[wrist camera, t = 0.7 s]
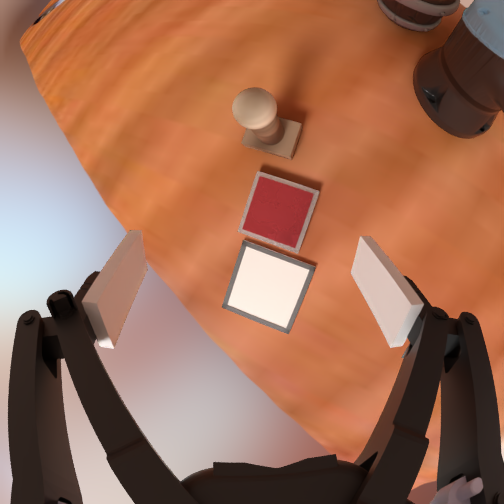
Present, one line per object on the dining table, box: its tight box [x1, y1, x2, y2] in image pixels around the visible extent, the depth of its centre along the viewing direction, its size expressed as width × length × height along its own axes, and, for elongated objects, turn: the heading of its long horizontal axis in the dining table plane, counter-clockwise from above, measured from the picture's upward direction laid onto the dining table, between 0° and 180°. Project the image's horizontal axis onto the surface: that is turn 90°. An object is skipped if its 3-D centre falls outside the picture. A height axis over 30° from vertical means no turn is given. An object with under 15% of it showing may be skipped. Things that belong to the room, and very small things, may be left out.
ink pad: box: [238, 171, 320, 254], centre depth 38 cm, size 9×9×2 cm
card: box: [222, 240, 316, 334], centre depth 41 cm, size 11×11×1 cm
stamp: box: [232, 88, 302, 160], centre depth 31 cm, size 7×5×15 cm
